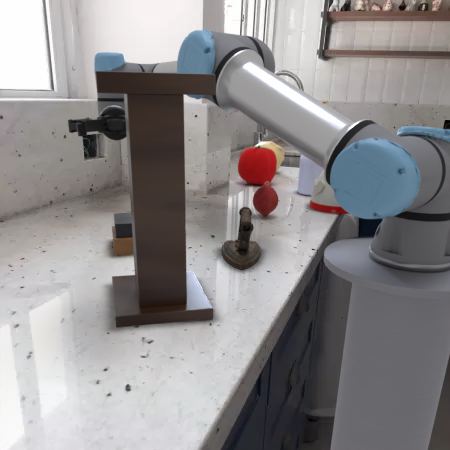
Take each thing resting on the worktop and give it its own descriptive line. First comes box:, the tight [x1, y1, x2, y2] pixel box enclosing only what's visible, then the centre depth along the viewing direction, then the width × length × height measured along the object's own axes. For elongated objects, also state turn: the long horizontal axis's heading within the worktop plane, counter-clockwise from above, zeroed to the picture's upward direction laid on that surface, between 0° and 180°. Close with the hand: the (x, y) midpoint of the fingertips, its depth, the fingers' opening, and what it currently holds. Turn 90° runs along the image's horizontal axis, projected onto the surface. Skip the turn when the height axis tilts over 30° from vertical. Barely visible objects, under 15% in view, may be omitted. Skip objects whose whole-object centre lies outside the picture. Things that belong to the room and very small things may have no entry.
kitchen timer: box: [309, 170, 351, 215], centre depth 119 cm, size 14×14×15 cm
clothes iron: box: [221, 206, 262, 270], centre depth 81 cm, size 7×11×10 cm, turn 0°
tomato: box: [237, 145, 277, 186], centre depth 150 cm, size 12×13×12 cm
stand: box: [95, 71, 215, 328], centre depth 60 cm, size 14×12×28 cm
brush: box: [111, 212, 134, 257], centre depth 93 cm, size 23×6×6 cm, turn 14°
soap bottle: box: [297, 100, 329, 197], centre depth 134 cm, size 9×9×25 cm
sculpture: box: [253, 140, 286, 172], centre depth 172 cm, size 12×12×11 cm
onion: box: [252, 181, 280, 217], centre depth 110 cm, size 6×6×8 cm
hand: (118, 128), depth 97 cm, fingers open, 13 cm apart
